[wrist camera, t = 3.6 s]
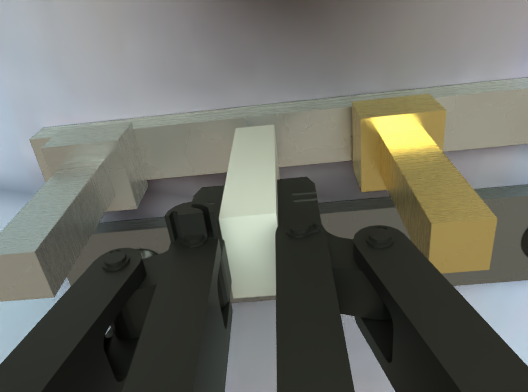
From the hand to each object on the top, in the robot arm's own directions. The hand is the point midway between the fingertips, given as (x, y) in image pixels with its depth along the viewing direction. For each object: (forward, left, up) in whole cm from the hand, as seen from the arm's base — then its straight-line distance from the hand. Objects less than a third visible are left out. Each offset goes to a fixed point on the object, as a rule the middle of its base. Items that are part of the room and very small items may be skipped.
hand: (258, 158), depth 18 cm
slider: (+5, 0, -1) cm, 6 cm away
